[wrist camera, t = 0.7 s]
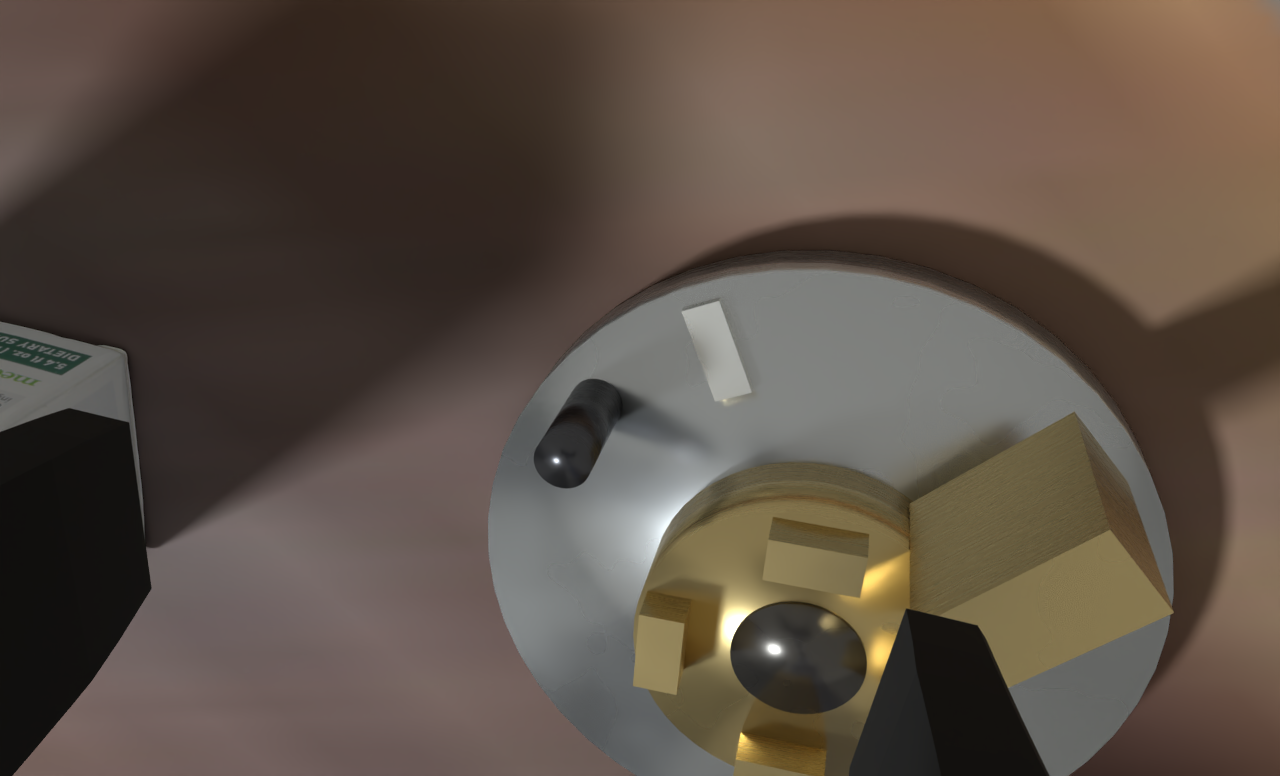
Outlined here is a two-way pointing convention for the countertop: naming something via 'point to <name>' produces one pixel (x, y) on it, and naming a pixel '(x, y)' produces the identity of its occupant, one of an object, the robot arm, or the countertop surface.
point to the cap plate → (780, 433)
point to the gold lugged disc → (879, 590)
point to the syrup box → (62, 380)
